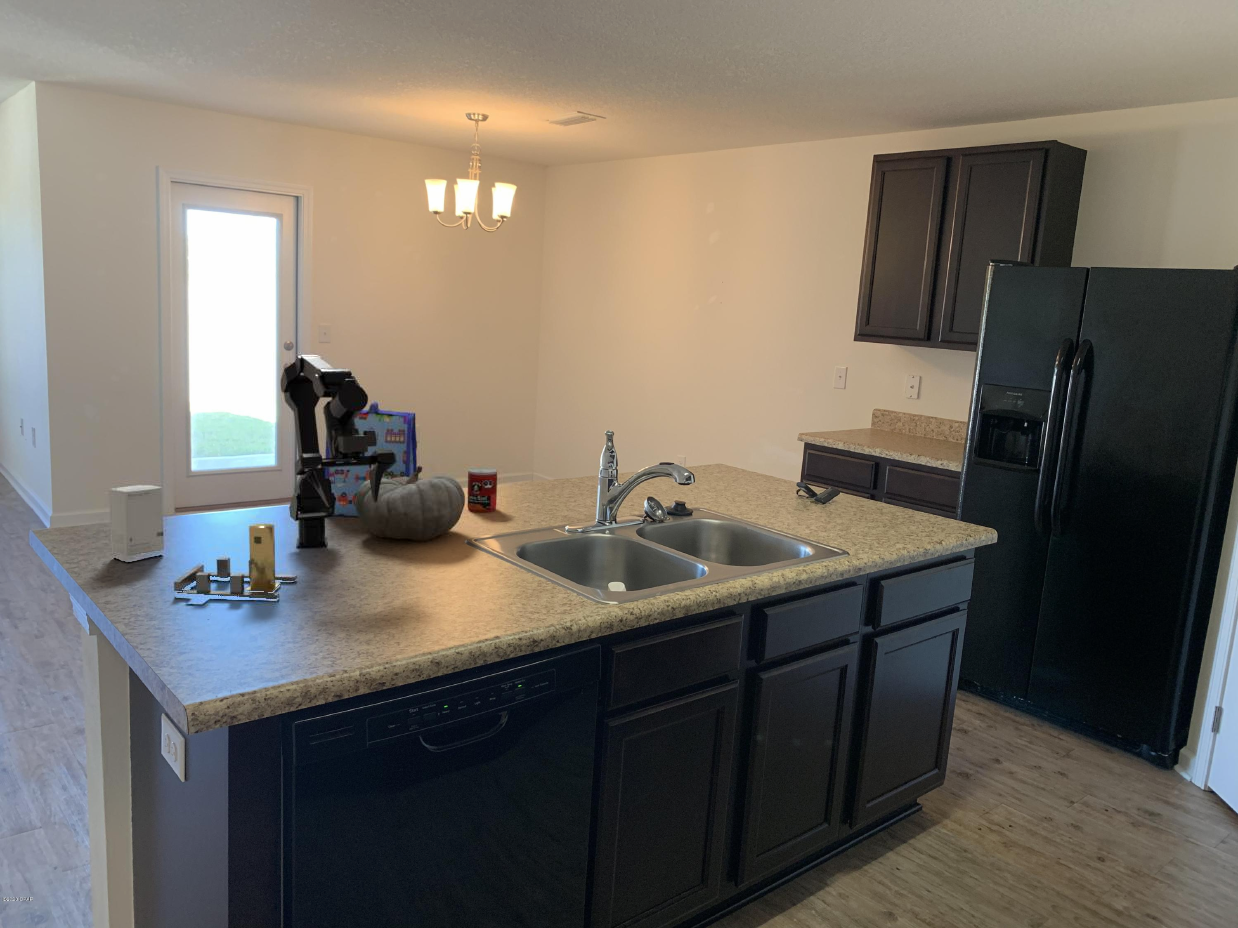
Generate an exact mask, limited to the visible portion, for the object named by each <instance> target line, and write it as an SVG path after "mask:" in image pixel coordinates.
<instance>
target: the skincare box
mask: <svg viewBox="0 0 1238 928" xmlns="http://www.w3.org/2000/svg"><path fill="white" fill-rule="evenodd" d="M108 495H109V497H108V498H109V514H110V515H109V518H110V519H109V520H110V521H109V522H110V545H111V552H112V551H113V552H116V553H119V554H121V555H124V556H132V555H137V554H141V553H148V552H153V551H161V550H164V551H165V548H164V547H165V546H164V545H165V543H164V540H165V539H164V519H163V518H164V514H163V512H164V510H163V507H164V506H163V487H162V486H157V485H151V484H139V485H129V486H122V487H121V486H120V487H114V488H109V489H108Z"/></svg>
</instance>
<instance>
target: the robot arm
mask: <svg viewBox="0 0 1238 928" xmlns="http://www.w3.org/2000/svg"><path fill="white" fill-rule="evenodd" d="M294 360H295V361H294V362H293V363H291V364H289V365H288V366H287V367H285V368H284V369H283V371H282V372H283V373H282V374H281V377H280V390H281V392H282V393H283V398H284V402H285V404H286V405H287V406H288V407H289V408H290V410H291V411H292V412H293V418H294V427H295V435H296V444H297V445H296V447H297V455H298V459H297V460H296V461H295V462H294V472H295V476H299V478H298V480H297V481H296V483H295V485H294V489H293V490H294V491H293V495H292V498H291V501H290V504H289V508H288V510H289V517H290V518H291V519H292V520H294V521H295V522H297V521H298V523H297V525H298V527H297V528H298V538H297V539H296V546H298V547H297V548H318V547H317V546H325V547H328V537H327V536H326V519H327V518H330V519H333V518H334V516H335V515H334V511H335V502H336V497H335V495H334V492H333V491H332V489H331V481H330V479H329V478H326V477H325V468H332V467H349V466H366V465H369V468H371V469H372V470H371V471H370V472H369V479H370V486H371V493H372V498H373V502H374V503H376V502H377V499H378V494H379V489H380V483H381V479H382V476H383V473H384V472H386V471H387V470H388V469H389V468H391V467H392V466H393V465H394V464H395V463H396V462H397V460H396V454H395V453H394V452H393V451H392V450H375V451H374V452H373V453H372V454H371V455H370V456H360V454H363V453H364V452H368V447H373V446H376V445H377V438H376V433H375V430H366V431H364V433H363V435H359V431H358V428H356V424H355V418H356V417H357V416H358V415H359V414H360V413H361V411H362V410H364V409H365V408H366V407H367V406H368V402H369V395H368V394H367V392H366V390H364V388H363V387H362V386H361V384H360V383H359V382H358V381H357V379H356V377H355V375H354V374H353V372H352V371H351V370H350V369H349V368H348V369H347V368H339V367H338V368H336V367H333V366H332V365H331V364H329V363H328V362H326V361H325V360H324V359H323V357H322V356H321V355H317V354H300V355H297V356H296V358H295V359H294ZM321 398H323V399H325V398H326V399H328V398H329V399H330V400H328V401H327V402H326V403H325V405H324V406H323V407H322V411H323V413H322V414H323V416H324V424H325V429H326V430H325V431H327V438H326V437H325V442H326V441H327V443H328V445H329V452H330V457H329V458H325V457H324V458H323V456H322V454H321V453H320V443H319V434H318V425H317V416H316V407H317V405H318V403H319V401H320V399H321ZM350 461H356V462H350ZM336 462H342V463H336ZM304 546H306V547H304ZM312 546H313V547H312ZM314 546H316V547H314Z"/></svg>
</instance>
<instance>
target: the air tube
mask: <svg viewBox="0 0 1238 928" xmlns="http://www.w3.org/2000/svg"><path fill="white" fill-rule="evenodd" d="M275 537H276V536H275V525H274V523H273V524H272V523H254V524H250V525H249V526H248V541H249V542H248V543H249V560H250V585H249V586H248V587H247V588H246V589H245V590H247V591H264V592H273V591H274V590H275V589H276V588H277V587H278V586H279V585H280V584H281V585H282V583H276V582H275V574H276V546H275V545H276V544H275V541H276V540H275Z"/></svg>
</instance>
